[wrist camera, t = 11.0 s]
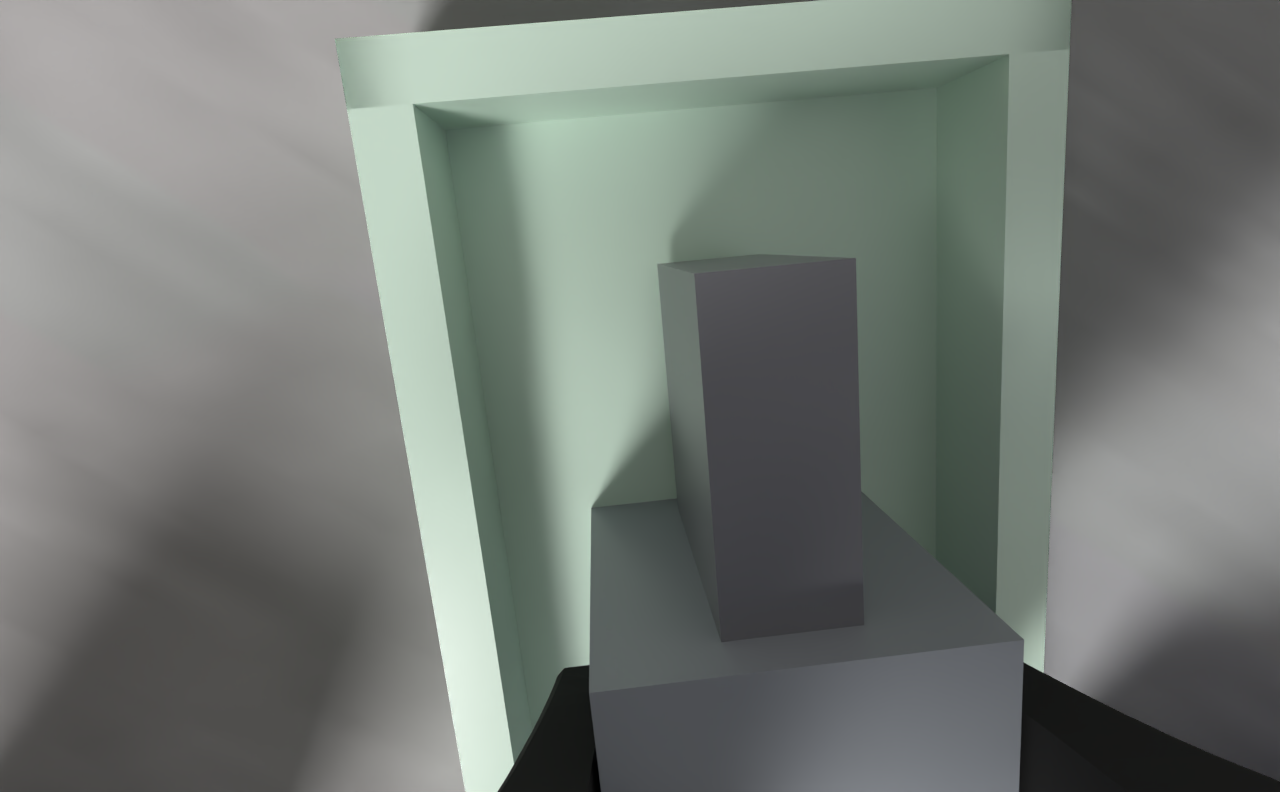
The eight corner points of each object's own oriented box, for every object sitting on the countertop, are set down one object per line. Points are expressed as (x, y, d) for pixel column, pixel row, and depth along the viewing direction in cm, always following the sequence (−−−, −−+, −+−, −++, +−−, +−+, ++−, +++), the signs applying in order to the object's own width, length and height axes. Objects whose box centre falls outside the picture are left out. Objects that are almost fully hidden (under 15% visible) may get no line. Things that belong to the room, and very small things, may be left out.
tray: (967, 39, 11) (1072, -20, 9) (958, 815, 14) (1033, 932, 12) (393, 86, 11) (334, 39, 8) (518, 874, 14) (503, 1007, 11)
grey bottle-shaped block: (842, 245, 11) (1037, 244, 6) (857, 816, 13) (1007, 1138, 9) (564, 271, 11) (540, 291, 6) (629, 846, 13) (650, 1194, 8)
